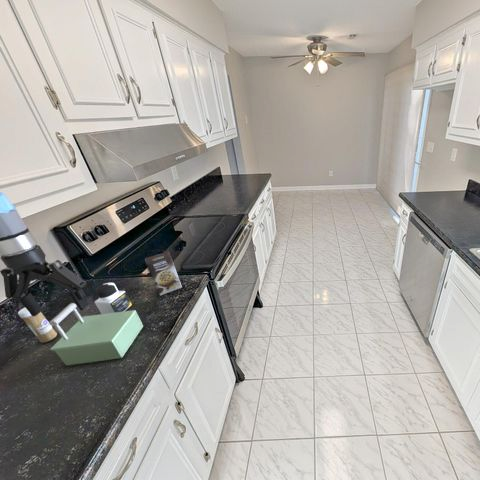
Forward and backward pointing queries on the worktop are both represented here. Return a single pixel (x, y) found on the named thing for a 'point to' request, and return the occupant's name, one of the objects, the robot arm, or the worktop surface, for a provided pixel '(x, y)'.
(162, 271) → the coffee box
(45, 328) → the sprinkles bottle
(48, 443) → the worktop surface
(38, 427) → the worktop surface
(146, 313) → the worktop surface
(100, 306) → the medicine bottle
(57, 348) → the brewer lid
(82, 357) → the green storage bin
